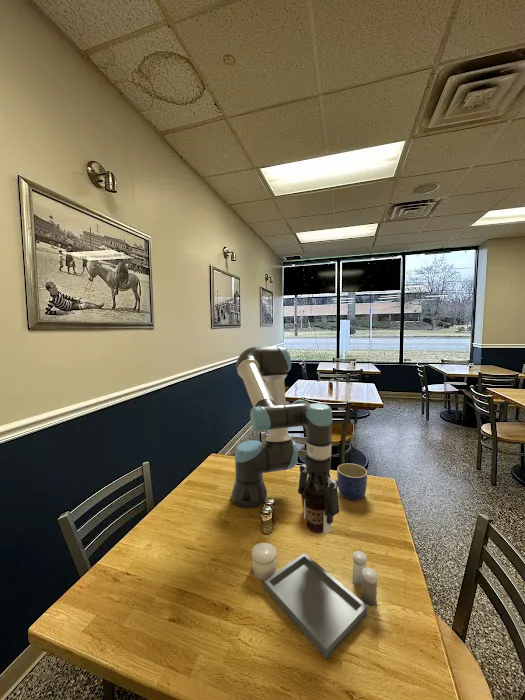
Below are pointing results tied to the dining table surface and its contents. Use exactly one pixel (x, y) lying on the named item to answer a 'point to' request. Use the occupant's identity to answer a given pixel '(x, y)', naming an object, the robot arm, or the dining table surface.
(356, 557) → the salt shaker
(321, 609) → the tray
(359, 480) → the planter
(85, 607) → the dining table surface
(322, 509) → the coffee cup
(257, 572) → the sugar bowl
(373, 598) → the pepper shaker
